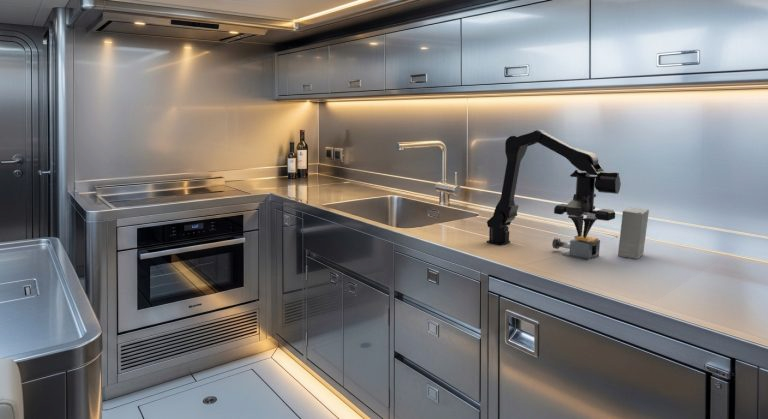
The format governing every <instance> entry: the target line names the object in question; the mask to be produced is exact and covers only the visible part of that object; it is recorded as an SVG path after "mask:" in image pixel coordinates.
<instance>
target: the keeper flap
mask: <svg viewBox="0 0 768 419" xmlns="http://www.w3.org/2000/svg"><path fill="white" fill-rule="evenodd" d="M573 237H574V239H579V240H583V241H588V240H590V242H591V243H592V242H595V241H598V240H599V238H596V237H593V236H589V235H587V236H586V237H583V234H582V235H581V236H578V234H577V235H575V236H573Z"/></svg>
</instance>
